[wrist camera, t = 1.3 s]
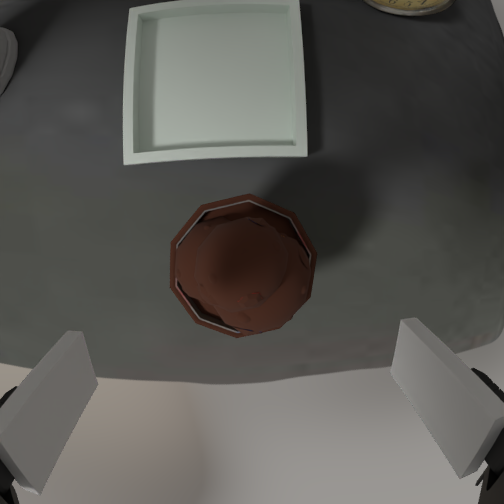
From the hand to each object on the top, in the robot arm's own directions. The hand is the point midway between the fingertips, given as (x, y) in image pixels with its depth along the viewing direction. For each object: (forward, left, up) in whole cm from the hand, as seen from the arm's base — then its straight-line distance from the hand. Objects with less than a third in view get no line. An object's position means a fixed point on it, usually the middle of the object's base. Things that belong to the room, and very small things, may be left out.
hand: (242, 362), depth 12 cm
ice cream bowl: (0, 0, -21) cm, 21 cm away
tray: (-2, +17, -21) cm, 27 cm away
